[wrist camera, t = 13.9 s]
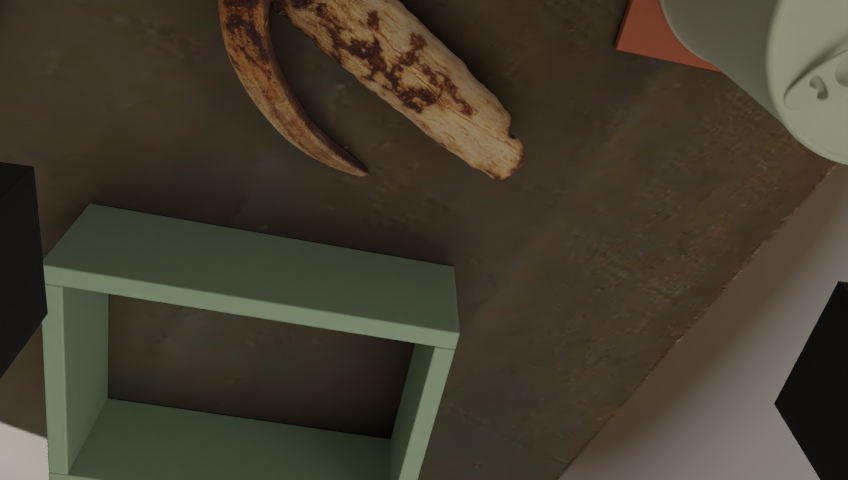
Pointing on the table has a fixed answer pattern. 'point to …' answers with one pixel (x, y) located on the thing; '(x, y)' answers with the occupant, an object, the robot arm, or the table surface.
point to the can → (778, 59)
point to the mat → (653, 35)
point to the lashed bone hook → (371, 78)
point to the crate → (244, 295)
